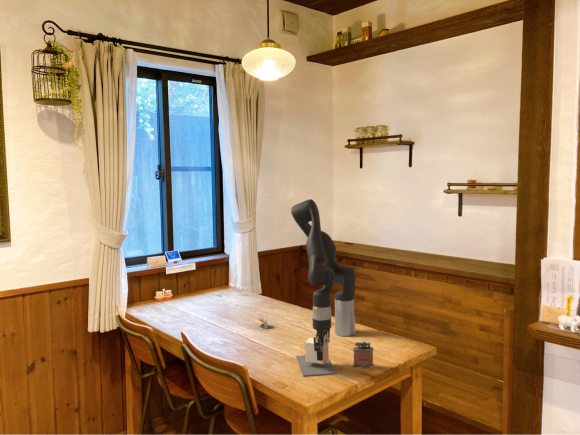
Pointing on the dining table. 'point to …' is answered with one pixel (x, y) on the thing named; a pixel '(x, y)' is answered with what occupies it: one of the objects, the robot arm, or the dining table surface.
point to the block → (315, 352)
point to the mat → (315, 367)
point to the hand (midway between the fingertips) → (322, 357)
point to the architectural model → (263, 321)
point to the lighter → (363, 354)
